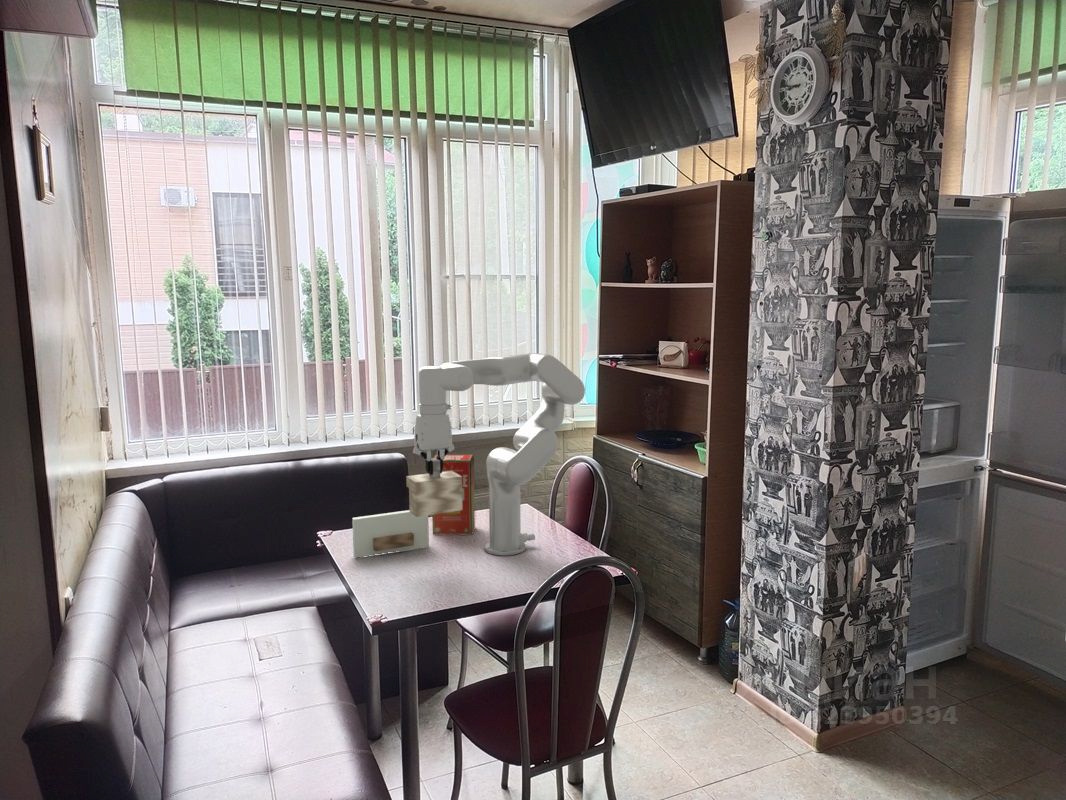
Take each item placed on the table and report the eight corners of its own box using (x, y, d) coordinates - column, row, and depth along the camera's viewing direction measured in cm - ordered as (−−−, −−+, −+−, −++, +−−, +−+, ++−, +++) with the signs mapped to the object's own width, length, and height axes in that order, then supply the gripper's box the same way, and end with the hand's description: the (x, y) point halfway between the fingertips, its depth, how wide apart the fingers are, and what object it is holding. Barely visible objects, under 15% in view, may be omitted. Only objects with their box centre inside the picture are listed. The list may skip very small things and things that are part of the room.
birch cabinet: (452, 503, 226) (451, 454, 224) (462, 510, 219) (461, 459, 217) (407, 509, 220) (405, 459, 218) (416, 517, 213) (414, 464, 211)
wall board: (426, 545, 237) (426, 507, 235) (429, 546, 235) (428, 509, 233) (353, 556, 226) (352, 517, 225) (355, 558, 225) (353, 519, 223)
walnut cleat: (411, 543, 232) (411, 532, 232) (413, 545, 230) (413, 534, 230) (373, 549, 227) (373, 538, 226) (375, 551, 225) (374, 540, 225)
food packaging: (431, 534, 247) (430, 459, 244) (436, 526, 256) (434, 453, 253) (472, 535, 247) (471, 460, 243) (475, 526, 256) (474, 454, 253)
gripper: (454, 406, 222) (455, 467, 224) (401, 410, 215) (403, 473, 217) (463, 409, 215) (465, 472, 218) (410, 413, 208) (412, 479, 210)
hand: (434, 472), depth 217 cm, fingers closed on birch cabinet
